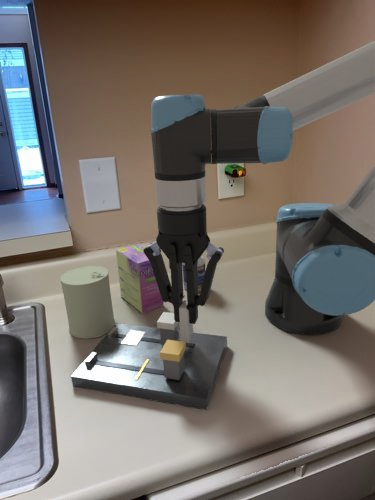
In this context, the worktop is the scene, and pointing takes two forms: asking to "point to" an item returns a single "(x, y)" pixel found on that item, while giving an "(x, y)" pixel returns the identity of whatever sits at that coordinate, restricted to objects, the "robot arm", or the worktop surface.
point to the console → (151, 367)
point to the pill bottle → (200, 273)
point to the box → (138, 279)
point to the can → (88, 301)
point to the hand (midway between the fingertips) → (187, 337)
